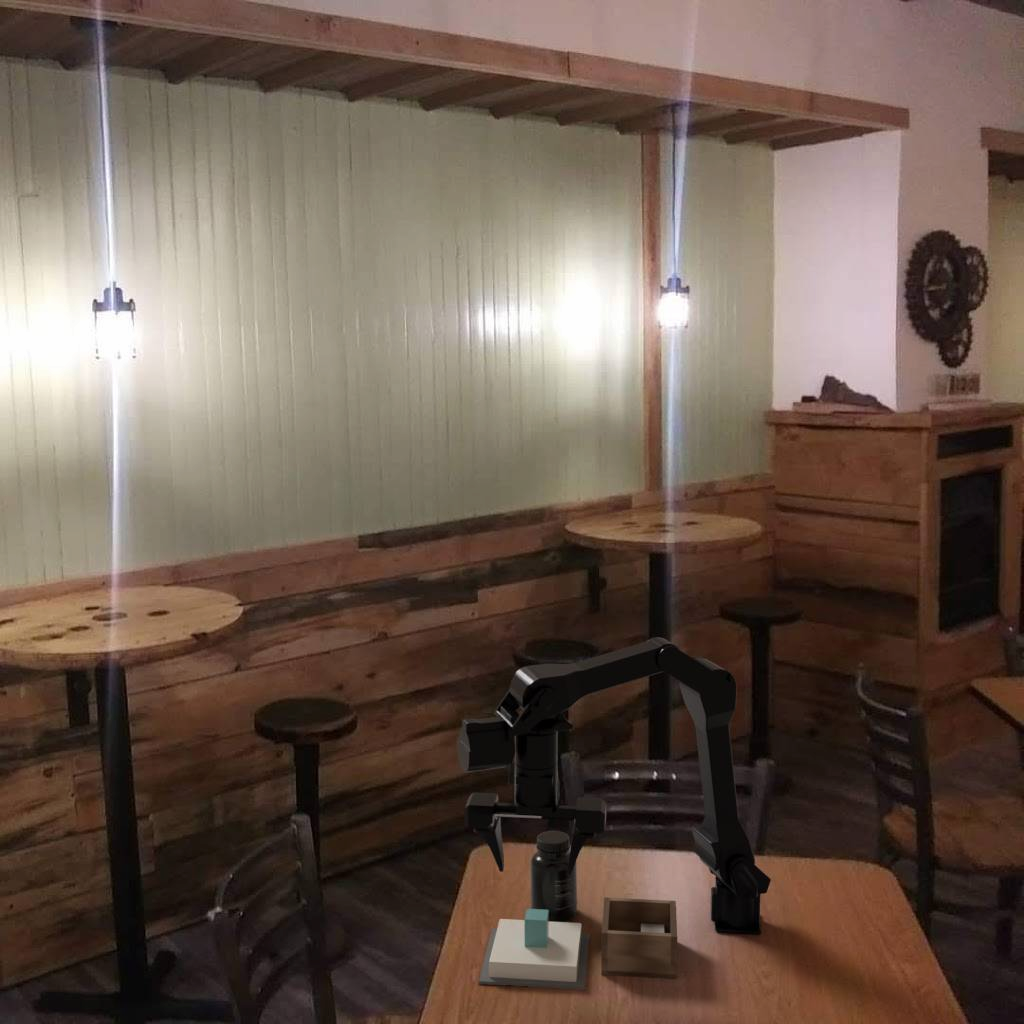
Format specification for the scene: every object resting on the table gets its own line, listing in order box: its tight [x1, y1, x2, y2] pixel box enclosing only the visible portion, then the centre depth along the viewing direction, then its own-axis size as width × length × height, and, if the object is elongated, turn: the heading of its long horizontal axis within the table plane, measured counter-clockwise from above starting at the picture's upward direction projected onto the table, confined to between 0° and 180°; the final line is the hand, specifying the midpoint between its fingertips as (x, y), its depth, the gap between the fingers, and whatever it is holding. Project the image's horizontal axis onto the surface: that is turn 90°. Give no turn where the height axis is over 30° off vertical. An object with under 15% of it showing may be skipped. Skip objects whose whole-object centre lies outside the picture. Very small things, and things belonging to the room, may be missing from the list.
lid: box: [489, 908, 583, 982], centre depth 168 cm, size 12×12×6 cm
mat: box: [478, 928, 591, 991], centre depth 169 cm, size 14×14×1 cm
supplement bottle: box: [529, 830, 578, 922], centre depth 180 cm, size 7×7×12 cm
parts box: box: [600, 896, 678, 980], centre depth 169 cm, size 10×10×6 cm
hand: (535, 872), depth 166 cm, fingers open, 9 cm apart
